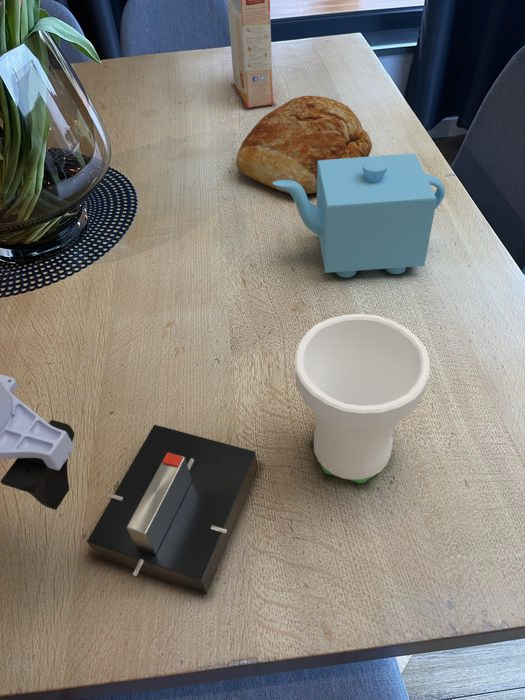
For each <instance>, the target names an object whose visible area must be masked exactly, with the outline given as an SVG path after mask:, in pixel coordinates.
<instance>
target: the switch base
mask: <svg viewBox="0 0 525 700" xmlns="http://www.w3.org/2000/svg"><path fill="white" fill-rule="evenodd" d="M167 452H169V453H172V454H176V455H179V456H183V457H185V458H186V462H187V465H188V469H189V472H190V476H191V479H192V481H191V483H190V485H189V487H188V489H187V491H186V493H185V495H184V497H183V499H182V501H181V503H180V506H179V508H178V510H177V512H176V514H175V516H174V518H173V520H172V522H171V524H170V526H169V528H168V530H167V532H166V534H165V536H164V538H163V540H162V542H161V544H160V546H159V548H158V550H157V552H156V554H152V553H149V552H146V551H143V550H140V549H137V547H136V545H135V543H134V541H133V539H132V537H131V536H130V534H129V532H128V530H127V525H128V524H129V522H130V520H131V518H132V516H133V514H134V513H135V511H136V509H137V507H138V505H139V503H140V502H141V500H142V498H143V496H144V494H145V492H146V491H147V489H148V487H149V485H150V483H151V481H152V480H153V478H154V476H155V474H156V472H157V470H158V469H159V467H160V465H161V463H162V461H163V459H164V457H165V456H166V454H167ZM257 471H258V460H257V451H255V450H250V449H248V448H245V447H244V448H243V447H240V446H236V445H232V444H228V443H225V442H222V441H218V440H214V439H211V438H207V437H202V436H199V435H195V434H191V433H187V432H184V431H181V430H176V429H172V428H168V427H165V426H161V425H157V424H153V426H152V428H151V429H150V431H149V433H148V434H147V436H146V437H145V440H144V441H143V442H142V445H141V446H140V449H139V450H138V451H137V453H136V455H135V457H134V459H133V460H132V462H131V464H130V466H129V467H128V469H127V471H126V473H125V474H124V476H123V478H122V479H121V481H120V483H119V485H118V486H117V487H116V490H115V492H114V493H111V492H110V493H109V494H108V495H107V498H110V500H109V502H108V504H107V505H106V507H105V509H104V510H103V512H102V514H101V515H100V517H99V519H98V521H97V523H96V525H95V526H94V528H93V530H92V532H91V533H90V535H89V537H88V538H87V540H86V543H87V544H88V546H89V548H90V549H91V550H92V552H93V553H94V555H95V556H96V557H98V558H102V559H104V560H107V561H109V562H112V563H116V564H119V565H121V566H125V567H127V568H130V569H133V570H134V571H133V572H132V576H134V577H137V576H138V575H139V572H142V573H145V574H148V575H150V576H152V577H155V578H158V579H162V580H164V581H167V582H170V583H173V584H176V585H179V586H181V587H184V588H188V589H190V590H193V591H195V592H199V593H202V594H205V595H207V594H208V592H209V590H210V588H211V585H212V583H213V580H214V577H215V575H216V572H217V570H218V566H219V564H220V562H221V560H222V558H223V555H224V552H225V550H226V547H227V546H228V543H229V540H230V537H231V535H232V532H233V530H234V528H235V525H236V523H237V520H238V518H239V515H240V513H241V511H242V509H243V508H242V507H243V505H244V503H245V500H246V498H247V495H248V493H249V490H250V489H251V488H250V487H251V486H252V483H253V481H254V478H255V475H256V473H257Z"/></svg>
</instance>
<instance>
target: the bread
mask: <svg viewBox="0 0 525 700" xmlns="http://www.w3.org/2000/svg"><path fill="white" fill-rule="evenodd" d="M372 149H373V143H372V140H371V137H370V136H369V133H368V132H367V131H366V130H365V129H363V126H362V122H361V120H360V119H359V118H358V116H357V115H356V114H355V113H354V111H353V110H352V109H351V108H350V107H349V106H348V105H346V104H345V103H343V102H341V101H338V100H335V99H332V98H329V97H326V96H317V95H303V96H299V97H294V98H292V99H290V100H289V101H287V102H284V103H283V104H281V105H280V106H278V107H276V108H275V109H273V110H271V111H270V112H269V113H267V114H265V115H264V116H263V117H262V118H261V119H259V121H258V122H257V123H256V124H255V126H253V128H252V129H251V131H249V133H248V134H247V135H246V137H245V138H244V140H243V141H242V143H241V145H240V147H239V148H238V151H237V154H236V167H237V170H238V172H240V173H241V174H243V175H245V176H247V177H249V178H250V179H252V180H254V181H256V182H257V183H258V182H259V183H261V184H263V185H265V186H267V187H269V188H273V189H275V190H278V191H281V192H283V193H287V194H290V193H289V192H287V191H286V190H284V189H282V188H280V187H277V186H275V185H273V182H275V181H279V180H291V181H295V182H297V183H298V184H300V185H301V186H302V187H303V189H304V191H305V193H306V195H309V194H317V162H318V161H320V160H331V159H344V158H357V157H370V154H371V152H372Z"/></svg>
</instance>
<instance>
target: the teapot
mask: <svg viewBox="0 0 525 700" xmlns="http://www.w3.org/2000/svg"><path fill="white" fill-rule="evenodd" d="M273 185H275V186H277V187H280V188H282V189H284V190H286V191H287V192H289V193H288V194H290V196H291V197H292V198H293V201H294V204H295V205H296V208H297V211H298V214H299V216H300V219H301V221H302V223H303V224H304V226H305V227H306V228H307V229H308V231H310V232H312V233H314V234H316V235H317V236H318V240H319V247H320V251H321V257H322V262H323V268H324V273H325V274H327V273H336V275H338V276H339V277H340V278H351V277H354V276H355V275H356V274H357V272H358V271H368V270H369V271H370V270H384V269H385V270H386V272H388V273H390V274H392V275H393V274H394V275H399V274H403V273H405V271H406V269H407V268H412V267H414V268H415V267H424V266H425V264H426V258H427V254H428V249H429V243H430V238H431V237H430V236H431V232H432V227H433V221H434V217H435V212H436V209H438V207H439V206H440V205H441V203H442V202H443V200H444V198H445V193H446V189H445V186H444V183H443V181H441V179H440V178H439V177H437V176H436V175H433V174H430V173H429V174H428V173H426V174H425V171H424V169H423V167H422V165H421V163H420V160H419V158H418V156H417V154H416V153H402V154H388V155H387V154H386V155H371V156H368V157H357V158H344V159H331V160H320V161H318V162H317V193H316V205H315V204H313V203H311V201H310V200H309V198H308V194H306V193H305V191H304V189H303V187H302V186H301V185H300V184H298V183H297V182H295V181H291V180H279V181H275V182H273ZM432 186H433V187H434V188H436V190H435V192H434V190H433V188H432Z"/></svg>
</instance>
